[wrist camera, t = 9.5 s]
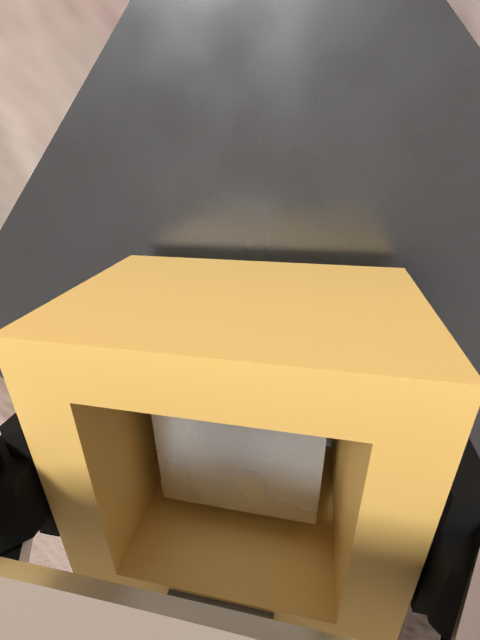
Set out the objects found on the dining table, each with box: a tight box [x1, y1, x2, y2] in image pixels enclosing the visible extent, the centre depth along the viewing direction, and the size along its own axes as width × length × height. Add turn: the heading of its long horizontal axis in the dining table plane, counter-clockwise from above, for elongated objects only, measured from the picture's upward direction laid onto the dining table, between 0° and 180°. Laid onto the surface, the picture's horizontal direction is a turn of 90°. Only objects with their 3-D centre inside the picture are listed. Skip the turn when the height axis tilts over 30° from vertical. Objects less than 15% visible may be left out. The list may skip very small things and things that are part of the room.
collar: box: [0, 255, 480, 640], centre depth 9 cm, size 7×7×5 cm
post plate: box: [0, 0, 480, 525], centre depth 11 cm, size 18×18×6 cm
